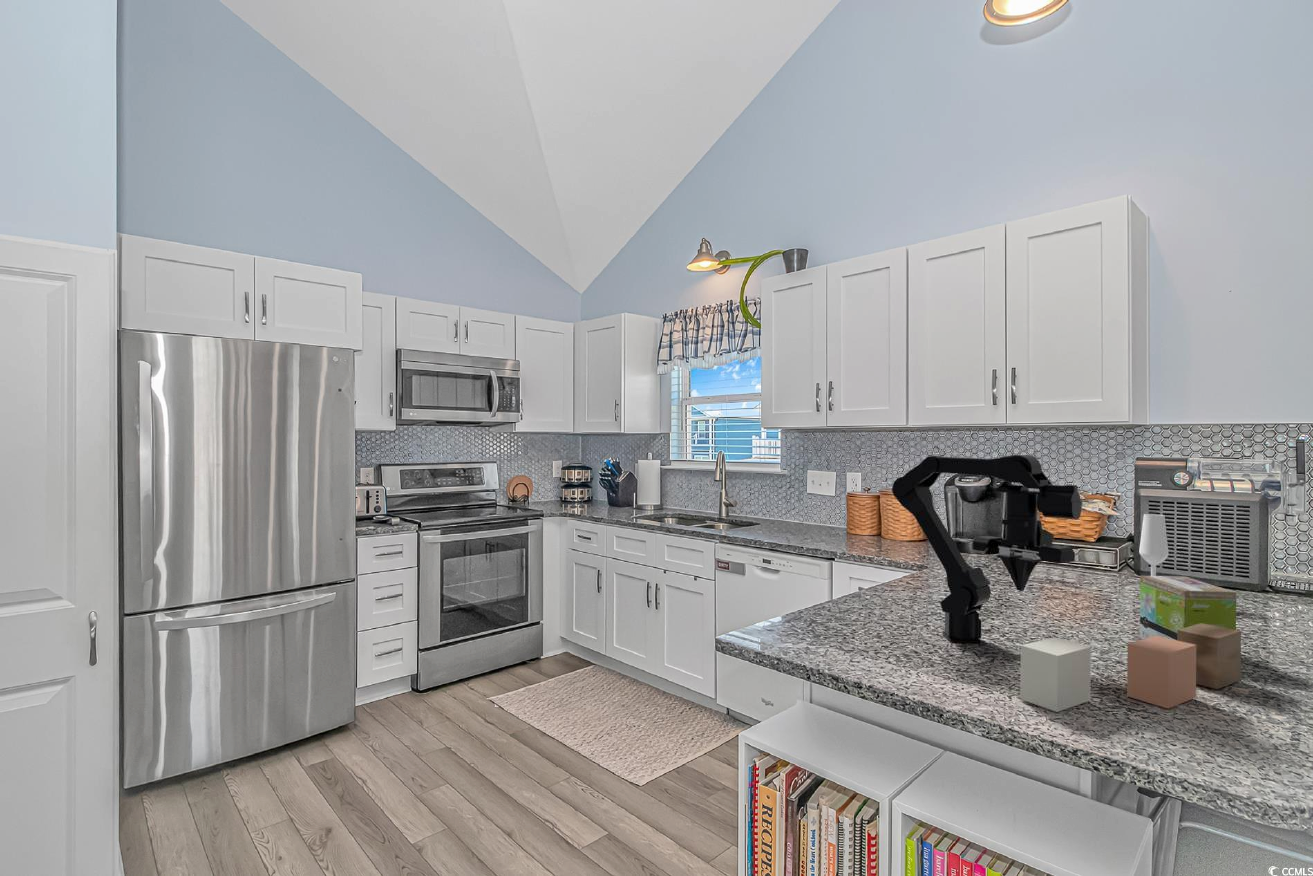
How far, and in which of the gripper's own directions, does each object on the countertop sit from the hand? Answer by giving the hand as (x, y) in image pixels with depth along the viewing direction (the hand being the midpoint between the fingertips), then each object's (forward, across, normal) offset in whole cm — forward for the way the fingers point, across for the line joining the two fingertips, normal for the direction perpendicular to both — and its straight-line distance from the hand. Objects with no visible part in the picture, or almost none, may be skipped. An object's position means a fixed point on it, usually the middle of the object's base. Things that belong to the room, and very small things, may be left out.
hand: (1020, 590), depth 136 cm
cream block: (+13, -18, +20) cm, 30 cm away
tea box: (+13, -16, -33) cm, 39 cm away
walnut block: (+13, -26, -16) cm, 33 cm away
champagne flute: (+13, +11, -83) cm, 85 cm away
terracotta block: (+13, -26, +2) cm, 29 cm away
